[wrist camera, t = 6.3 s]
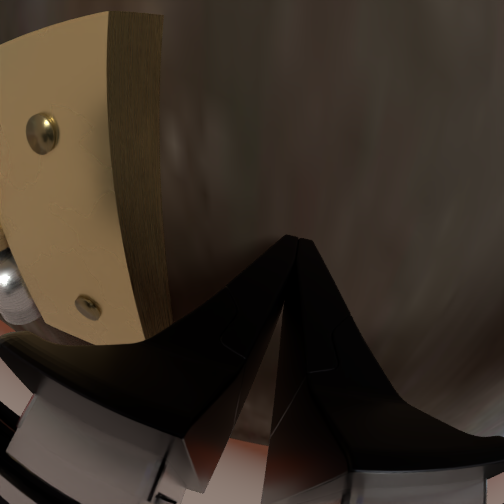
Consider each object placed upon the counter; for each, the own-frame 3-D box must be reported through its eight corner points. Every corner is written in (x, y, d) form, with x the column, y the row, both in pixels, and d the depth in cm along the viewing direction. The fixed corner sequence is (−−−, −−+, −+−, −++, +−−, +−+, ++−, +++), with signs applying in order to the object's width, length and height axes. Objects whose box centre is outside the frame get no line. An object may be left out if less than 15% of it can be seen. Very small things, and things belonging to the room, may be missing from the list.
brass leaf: (-22, 62, 7) (-83, 89, 5) (165, 15, 7) (78, 10, 4) (27, 270, 16) (-7, 312, 13) (173, 319, 15) (144, 384, 12)
